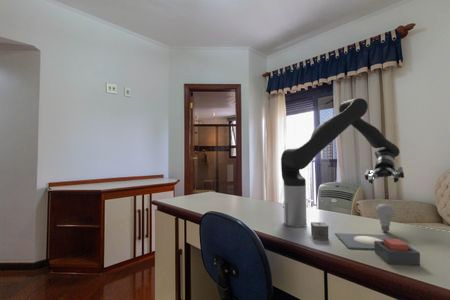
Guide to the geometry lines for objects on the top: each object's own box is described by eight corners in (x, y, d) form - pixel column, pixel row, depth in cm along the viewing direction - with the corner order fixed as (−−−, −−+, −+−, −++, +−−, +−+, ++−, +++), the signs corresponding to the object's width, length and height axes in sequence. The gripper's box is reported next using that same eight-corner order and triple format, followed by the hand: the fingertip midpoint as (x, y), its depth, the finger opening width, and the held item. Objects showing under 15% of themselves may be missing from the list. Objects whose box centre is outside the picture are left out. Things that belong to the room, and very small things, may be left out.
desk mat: (348, 248, 78) (348, 246, 78) (335, 234, 91) (335, 232, 91) (409, 251, 75) (409, 249, 75) (386, 236, 89) (386, 234, 89)
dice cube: (325, 235, 90) (324, 222, 90) (328, 240, 85) (328, 226, 86) (311, 235, 91) (310, 222, 91) (313, 239, 86) (313, 225, 86)
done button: (391, 252, 68) (391, 244, 68) (383, 246, 73) (383, 238, 73) (408, 253, 68) (408, 244, 68) (399, 247, 72) (399, 239, 72)
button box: (388, 264, 67) (387, 251, 67) (374, 252, 75) (374, 241, 75) (420, 265, 65) (419, 252, 65) (402, 253, 73) (402, 242, 73)
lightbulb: (395, 235, 89) (394, 205, 89) (376, 232, 92) (375, 204, 93) (394, 231, 94) (393, 203, 95) (376, 228, 98) (375, 201, 98)
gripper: (366, 159, 116) (361, 174, 104) (402, 156, 107) (401, 171, 95) (369, 173, 118) (365, 189, 106) (405, 171, 109) (405, 188, 97)
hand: (382, 181), depth 100 cm, fingers open, 8 cm apart
